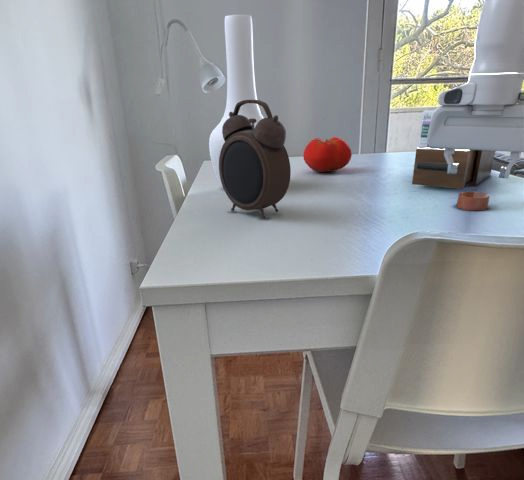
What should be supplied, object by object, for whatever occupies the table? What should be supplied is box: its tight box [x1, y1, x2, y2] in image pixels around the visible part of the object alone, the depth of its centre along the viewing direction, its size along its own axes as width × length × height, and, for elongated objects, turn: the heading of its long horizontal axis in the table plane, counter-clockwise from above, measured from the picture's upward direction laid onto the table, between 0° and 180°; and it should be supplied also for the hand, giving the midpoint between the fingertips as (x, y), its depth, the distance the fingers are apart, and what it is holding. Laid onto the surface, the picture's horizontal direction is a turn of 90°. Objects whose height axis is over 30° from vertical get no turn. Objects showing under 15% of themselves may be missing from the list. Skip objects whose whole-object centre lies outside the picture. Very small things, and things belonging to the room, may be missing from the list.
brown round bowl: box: [456, 191, 491, 212], centre depth 92 cm, size 6×6×2 cm
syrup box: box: [418, 109, 436, 148], centre depth 134 cm, size 6×6×14 cm
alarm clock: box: [219, 99, 292, 220], centre depth 88 cm, size 15×7×20 cm, turn 46°
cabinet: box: [427, 144, 496, 187], centre depth 116 cm, size 15×13×10 cm
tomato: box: [302, 136, 353, 173], centre depth 131 cm, size 14×13×9 cm
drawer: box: [411, 146, 478, 190], centre depth 108 cm, size 18×11×8 cm, turn 145°
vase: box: [208, 14, 265, 188], centre depth 108 cm, size 17×17×35 cm
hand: (477, 175), depth 90 cm, fingers open, 8 cm apart
